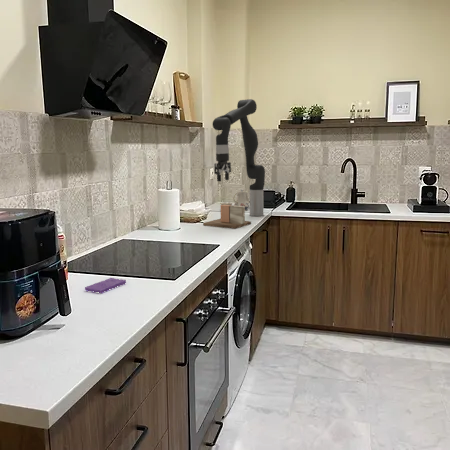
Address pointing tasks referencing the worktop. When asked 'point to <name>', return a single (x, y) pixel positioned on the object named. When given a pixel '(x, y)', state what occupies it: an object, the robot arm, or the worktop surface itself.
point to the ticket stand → (231, 219)
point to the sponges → (105, 285)
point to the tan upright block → (225, 213)
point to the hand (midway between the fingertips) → (223, 180)
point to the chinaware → (240, 199)
